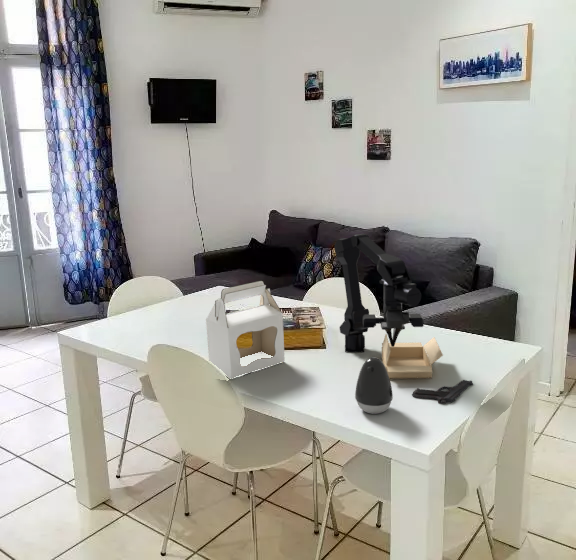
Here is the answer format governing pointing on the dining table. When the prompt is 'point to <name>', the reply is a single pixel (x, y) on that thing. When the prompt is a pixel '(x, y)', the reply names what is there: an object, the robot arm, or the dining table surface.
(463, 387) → the handgun
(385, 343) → the flap
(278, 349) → the gable box
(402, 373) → the carton
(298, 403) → the dining table surface
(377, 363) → the dark grey egg device
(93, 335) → the dining table surface
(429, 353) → the flap
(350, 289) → the robot arm
